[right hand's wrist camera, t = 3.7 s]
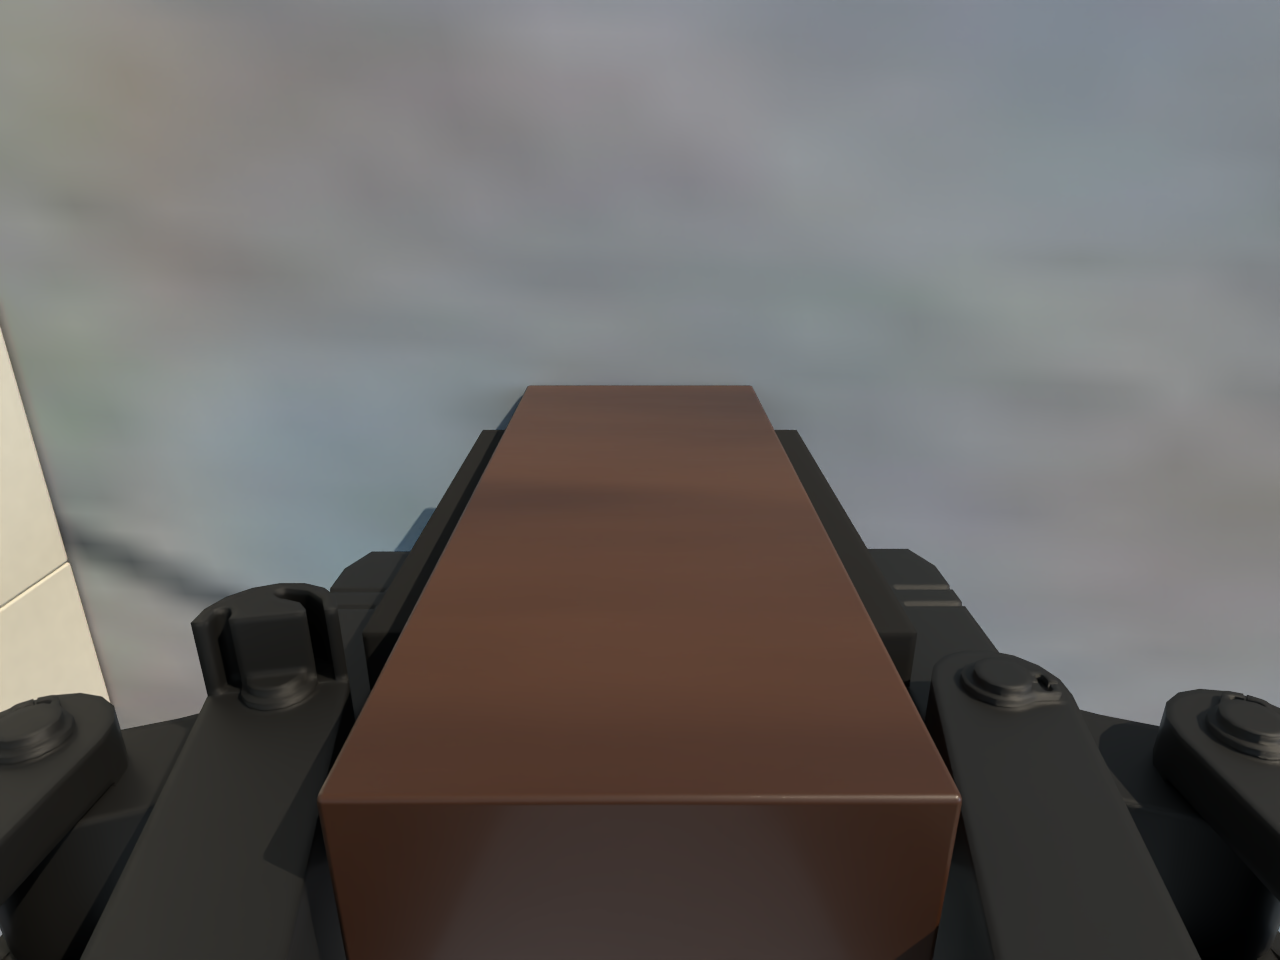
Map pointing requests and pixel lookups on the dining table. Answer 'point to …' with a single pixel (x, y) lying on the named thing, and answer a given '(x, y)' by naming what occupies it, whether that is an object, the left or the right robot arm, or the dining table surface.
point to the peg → (639, 715)
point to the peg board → (35, 574)
